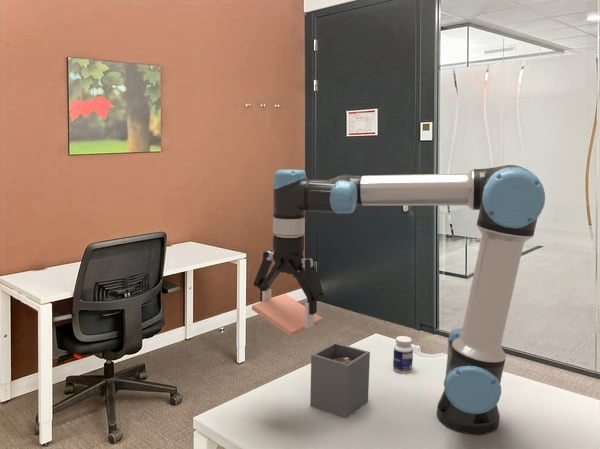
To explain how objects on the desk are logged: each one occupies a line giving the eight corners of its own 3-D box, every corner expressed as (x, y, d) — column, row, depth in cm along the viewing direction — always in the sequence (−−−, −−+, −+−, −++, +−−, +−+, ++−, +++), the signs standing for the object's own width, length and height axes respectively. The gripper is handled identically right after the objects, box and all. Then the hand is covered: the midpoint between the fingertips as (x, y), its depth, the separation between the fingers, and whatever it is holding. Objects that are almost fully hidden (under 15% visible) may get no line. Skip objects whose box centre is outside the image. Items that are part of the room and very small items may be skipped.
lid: (320, 325, 140) (322, 318, 139) (289, 340, 130) (291, 332, 129) (282, 300, 146) (284, 293, 145) (250, 312, 136) (252, 305, 135)
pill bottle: (389, 367, 172) (391, 336, 171) (406, 365, 174) (407, 334, 172) (398, 374, 167) (399, 343, 165) (415, 372, 169) (417, 341, 167)
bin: (368, 401, 150) (369, 352, 148) (346, 418, 141) (348, 365, 139) (332, 390, 157) (334, 342, 154) (310, 405, 148) (311, 354, 145)
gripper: (340, 238, 130) (337, 327, 134) (259, 226, 144) (258, 307, 148) (322, 243, 124) (320, 336, 127) (239, 230, 138) (239, 314, 142)
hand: (287, 321), depth 138 cm, fingers closed on lid, 12 cm apart
